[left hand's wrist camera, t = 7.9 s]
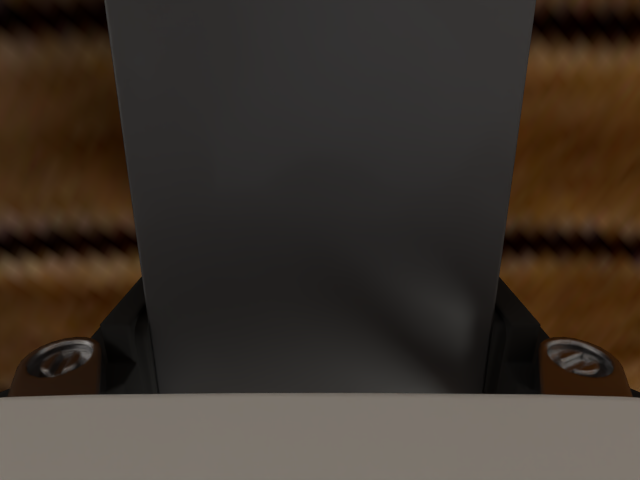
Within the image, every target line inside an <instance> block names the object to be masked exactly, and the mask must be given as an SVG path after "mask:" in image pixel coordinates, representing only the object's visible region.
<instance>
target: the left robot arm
mask: <svg viewBox="0 0 640 480" xmlns="http://www.w3.org/2000/svg"><path fill="white" fill-rule="evenodd" d="M100 326H101V327H100V328H99V329H98V330H97V331H96V333H95V334H94V335H93V336H92V337H91V338H87V337H73V338H65V339H61V340H58V341H54V342H51V343H49V344H46V345H44V346H41V347H39V348H38V349H36V350H34V351H33V352H31V353H29V354H28V355H27V356H26V357H25V358H24V359H23V360H22V361H21V362H20V364H19V366H18V367H17V370H16V372H15V375H14V378H13V381H12V384H11V387H10V389H8V390H5V391H3V392H0V480H640V392H638V391H635V390H633V389H630V387H629V384H628V381H627V378H626V375H625V372H624V370H623V367H622V366H621V364H620V362H619V361H618V360H617V359H616V358H615V357H614V356H613V355H612V354H611V353H609V352H607V351H606V350H604V349H602V348H601V347H599V346H596V345H594V344H591V343H589V342H586V341H582V340H579V339H575V338H567V337H553V338H549V337H548V335H547V334H546V333H545V332H544V331H543V330H542V328H541V327H540V324H539V322H538V321H537V320H536V319H535V318H534V317H533V315H532V314H531V313H530V312H529V311H528V310H527V309H526V307H525V306H524V305H523V304H522V303H521V302H520V300H519V299H518V298H517V297H516V296H515V295H514V293H513V292H512V291H511V290H510V289H509V288H508V287H507V285H506V284H505V283H504V282H503V281H502V280H501V278H500V277H499V280H498V287H497V294H496V302H495V309H494V317H493V324H492V332H491V339H490V347H489V354H488V362H487V369H486V376H485V384H484V391H483V394H424V393H204V394H158V389H157V382H156V375H155V367H154V360H153V352H152V345H151V338H150V330H149V323H148V316H147V309H146V302H145V294H144V287H143V280H142V277H141V278H140V279H139V280H138V281H137V283H136V284H135V285H134V286H133V287H132V288H131V290H130V291H129V292H128V293H127V294H126V295H125V296H124V298H123V299H122V300H121V301H120V302H119V303H118V305H117V306H116V307H115V308H114V309H113V310H112V311H111V313H110V314H109V315H108V316H107V317H106V318H105V320H104V321H103V322H102V323H101V324H100Z"/></svg>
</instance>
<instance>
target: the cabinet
mask: <svg viewBox="0 0 640 480" xmlns="http://www.w3.org/2000/svg"><path fill="white" fill-rule="evenodd" d="M104 1H105V9H106V16H107V23H108V31H109V38H110V45H111V53H112V60H113V67H114V75H115V82H116V89H117V97H118V104H119V111H120V119H121V126H122V133H123V141H124V148H125V155H126V163H127V170H128V177H129V185H130V192H131V199H132V206H133V214H134V221H135V228H136V236H137V243H138V250H139V258H140V265H141V272H142V280H143V287H144V294H145V302H146V309H147V316H148V323H149V330H150V338H151V345H152V352H153V360H154V367H155V375H156V382H157V389H158V394H204V393H424V394H483V391H484V384H485V376H486V369H487V362H488V354H489V347H490V339H491V332H492V324H493V317H494V309H495V302H496V294H497V287H498V280H499V272H500V265H501V257H502V250H503V242H504V235H505V227H506V220H507V213H508V205H509V198H510V190H511V183H512V175H513V168H514V160H515V153H516V145H517V138H518V131H519V123H520V116H521V108H522V101H523V93H524V86H525V78H526V71H527V64H528V56H529V49H530V41H531V34H532V26H533V19H534V11H535V4H536V0H104Z"/></svg>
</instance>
